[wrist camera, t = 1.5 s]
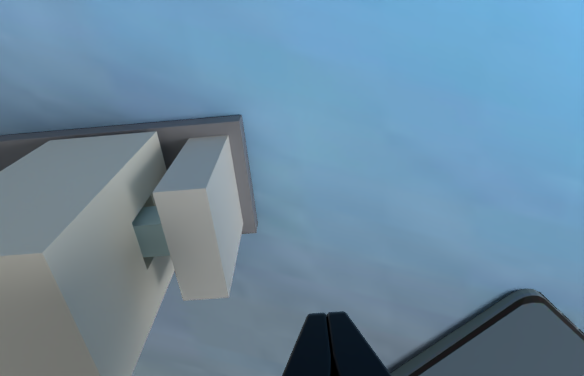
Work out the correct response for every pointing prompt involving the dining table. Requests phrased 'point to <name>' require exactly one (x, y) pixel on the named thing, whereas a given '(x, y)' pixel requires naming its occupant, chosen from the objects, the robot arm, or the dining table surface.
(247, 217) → the grey piece
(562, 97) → the dining table surface
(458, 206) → the dining table surface
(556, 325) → the smartphone
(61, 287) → the white block
